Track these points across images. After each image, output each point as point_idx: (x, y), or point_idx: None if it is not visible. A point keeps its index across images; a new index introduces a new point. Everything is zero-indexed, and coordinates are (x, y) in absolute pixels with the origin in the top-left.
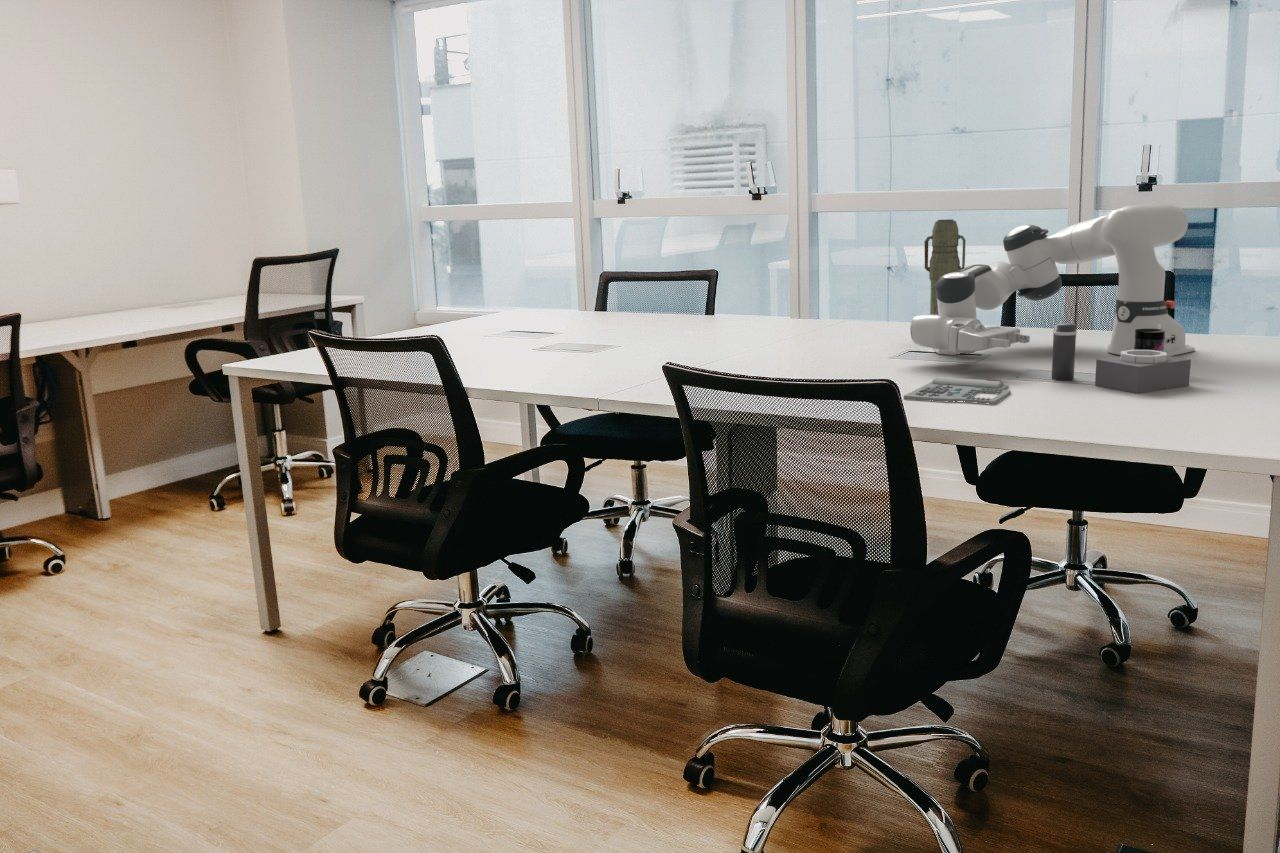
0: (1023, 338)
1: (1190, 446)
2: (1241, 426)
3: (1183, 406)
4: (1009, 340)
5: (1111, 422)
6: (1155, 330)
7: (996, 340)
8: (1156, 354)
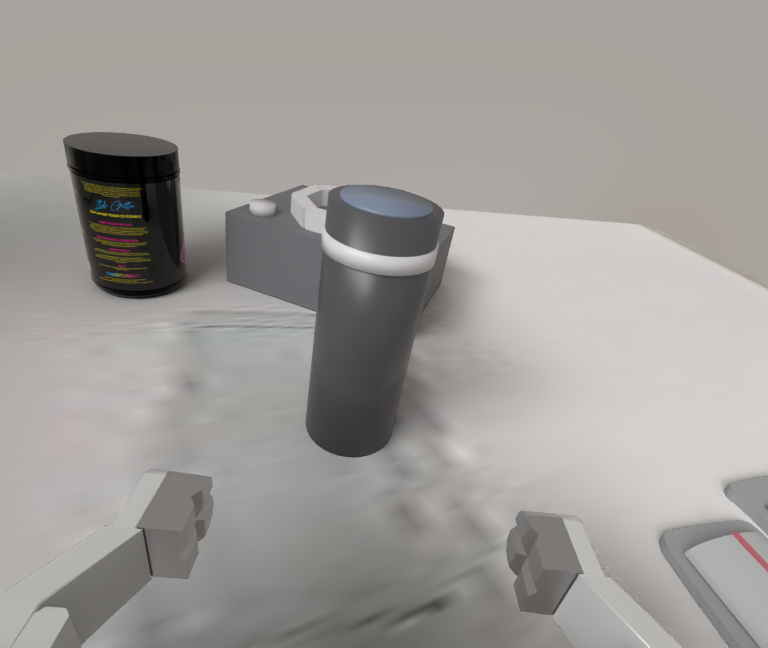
0: (194, 517)
1: (675, 250)
2: (544, 225)
3: (489, 249)
4: (536, 514)
5: (681, 296)
6: (119, 139)
7: (648, 626)
8: (316, 198)
